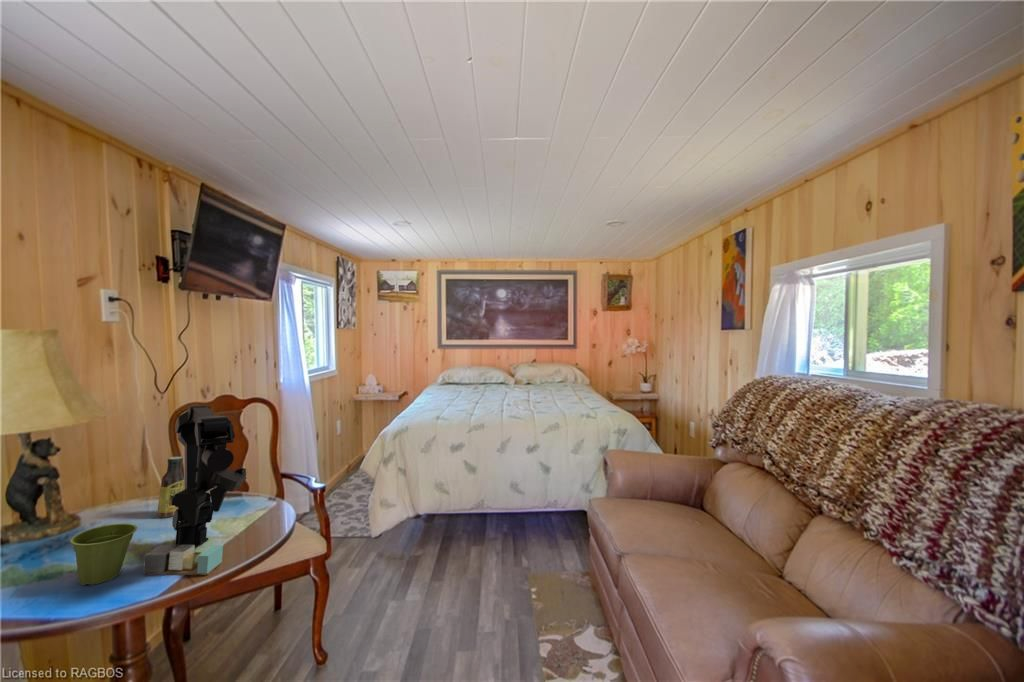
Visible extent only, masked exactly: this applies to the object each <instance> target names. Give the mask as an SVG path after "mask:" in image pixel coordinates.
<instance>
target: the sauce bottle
mask: <svg viewBox="0 0 1024 682" xmlns="http://www.w3.org/2000/svg"><path fill="white" fill-rule="evenodd" d="M183 460H184V457H183V456H170V457H168V458H167V468H166V472H165V474H164V475H163V476H162V478H161V483H160V488H159V489H160V490H159V496H158V505H157V517H158V518H161V519H164V518H170V517H173V516H174V514H175V511H176V509H178V507H175V506H172V505H171V499H172V497H173V496H174V495H175V494H177V493H179V492H181V491H183V490H184V489H185V476H184V474H183V471H182V469H183V468H182V466H183V465H182V464H183Z"/></svg>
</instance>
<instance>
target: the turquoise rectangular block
mask: <svg viewBox="0 0 1024 682" xmlns="http://www.w3.org/2000/svg"><path fill="white" fill-rule="evenodd" d="M223 551H224V545H223V544H214V545H211V547H209V548H208V549H206V550H205V551H203V552H201V554H200V555H199V557H198V568H197V573H199V574H207V573H208V572H210V571H211V570H212V569H213V568H215V567H216V566H217V565H219V564H220V563H221V564H222V561H223Z"/></svg>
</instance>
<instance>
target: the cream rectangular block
mask: <svg viewBox="0 0 1024 682" xmlns="http://www.w3.org/2000/svg"><path fill="white" fill-rule="evenodd" d="M194 547H195V545H180V546H178V547H177V548H175V549H173V550H172V551H170V555H169V556H167V564H166V569H168V570H192V569H194V568H195V567H196V566H198V557H199V555H200V554H202V552H201V551H199V552H198V551H197V552H196V551H195V549H194Z"/></svg>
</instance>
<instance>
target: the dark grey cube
mask: <svg viewBox="0 0 1024 682" xmlns="http://www.w3.org/2000/svg"><path fill="white" fill-rule="evenodd" d="M178 546H180V545H175V544H161V545H160V546H158V547H155V548H154V549H153V550H151V551H149V552H148V553H146V554H145V555H144V562H143V564H144V565H143V573H144V572H156V573H164V572H165V571H166V564H167V556H169V555H170V551H172V550H173V549H175V548H177V547H178Z"/></svg>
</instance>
